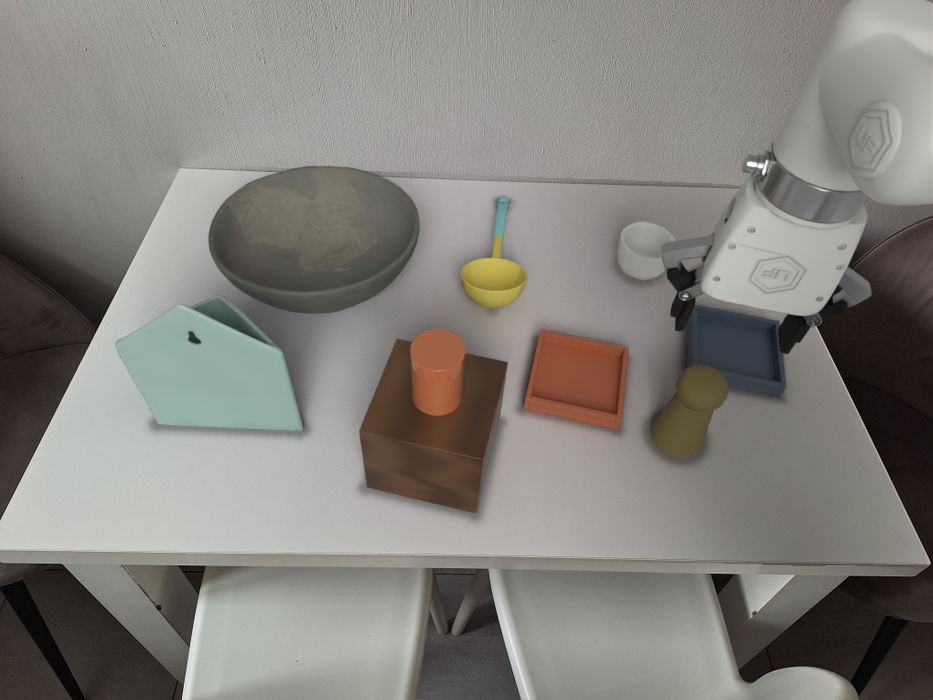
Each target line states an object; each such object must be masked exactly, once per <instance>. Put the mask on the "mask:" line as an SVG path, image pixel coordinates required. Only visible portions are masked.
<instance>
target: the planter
mask: <svg viewBox="0 0 933 700" xmlns="http://www.w3.org/2000/svg"><path fill="white" fill-rule="evenodd" d="M114 347H115V349H116V351H117V353H118V355H119V358H120V359H121V362H122V363H123V364H124V366H125V368H126V370H127V372H128V374H129V375H130V377H131V379H132V380H133V383H134V384H135V386H136V388H137V390H138V391H139V392H140V395H141V396H142V398H143V400H144V402H145V404H146V405H147V407H148V408H149V411H150V412H151V414H152V417H153V418H154V420H155V421H156V423H157V424H159V425H161V426H162V425H165V426H182V427H183V426H185V427H204V428H205V427H206V428H223V429H225V428H227V429H243V430H244V429H245V430H246V429H249V430H268V431H288V432H289V431H291V432H302V431H304V424H303V421H302V417H301V413H300V410H299V404H298V402H297V398H296V394H295V389H294V386H293V383H292V379H291V374H290V372H289V367H288V364H287V360H286V357H285V354H284V350H283V349H282V348H281V347H280V345H278V344H277V343H276V342H275V341H274V340H272V339H271V337H269V336H268V335H267V334H266V333H265V332H264V331H263V330H262V329H261V328H260V327H259V326H258V325H257V324H255V323H254V322H253V320H252V319H250V318H249V317H248V315H246V314H245V313H244V312H243V311H242V310H241V309H240V308H239V307H238V306H237V305H235V304H234V303H233V302H232V301H230V300H229V299H228V298H226V297H225V296H224V295H222V294H217V295H214V296H212V297H210V298H208V299H205V300H203V301H200V302H198V303H196V304H193V305H191V306H189V305H187V304H184V303H177V304H176V305H174V306H172V307H171V308H169V309H168V310H167V311H165V312H164V313H163V314H161V315H159V316H157V317H156V318H154V319H153V320H151V321H149V322H147V323H146V324H144V325H142V326H141V327H139V328H138V329H136V330H134V331H133V332H131V333H129V334H128V335H126V336H123V337H121V338H119V339H117V340H116V341H115V343H114Z"/></svg>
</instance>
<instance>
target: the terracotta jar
mask: <svg viewBox="0 0 933 700" xmlns="http://www.w3.org/2000/svg"><path fill="white" fill-rule="evenodd" d="M411 342H412V344H411V347H410V360H411V392H412V400H413V403H414V404H415V406H416V407H417V408H418V409H419V410H420V411H422V412H424V413H426V414H429V415H434V416H440V415H445V414H448V413H451V412H452V411H454V410H455V409H456V408H457V407H458V406H459V405H460V403H461V400H462V394H463V380H464V366H465V353H466V345H465V342H464V340H463V339H462V338H461V336H459V335H458V334H457V333H455V332H453V331H451V330H448V329H445V328H431V329H427V330H423V331H422V332H420V333H418V334H417V335H416V336H415V337H414V339H413V340H412V341H411Z"/></svg>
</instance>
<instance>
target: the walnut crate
mask: <svg viewBox="0 0 933 700" xmlns="http://www.w3.org/2000/svg"><path fill="white" fill-rule="evenodd" d="M411 344H412V341H410V340H405V339H401V338H396V340H395V341H394V344H393V347H392V349H391V352H390V354H389V356H388V359H387V361H386V363H385V366H384V368H383V372H382V373H381V376H380V379H379V381H378V383H377V386H376V388H375V391H374V393H373V395H372V398H371V401H370V403H369V405H368V407H367V411H366V412H365V414H364V415H365V416H364V418H363V420H362V423H361V425H360V427H359V430H358V434H359V440H360V447H361V455H362V462H363V469H364V477H365V483H366V487H367V489H372V490H377V491H380V492H383V493H384V492H385V493H389V494H393V495H397V496H400V497H401V496H402V497H404V498H410V499H414V500H418V501H422V502H426V503H431V504H434V505H439V506H443V507H447V508H452V509H455V510H460V511H463V512H468V513H472V514H477V513H478V510H479V506H480V502H481V501H480V500H481V497H482V493H483V489H484V485H485V480H486V478H487V473H488V468H489V465H490V461H491V456H492V452H493V448H494V444H495V440H496V435H497V433H498V428H499V424H500V418H501V412H502V405H503V398H504V393H505V384H506V378H507V374H508V373H507V372H508V366H509V362H508V361H504V360H501V359H496V358H491V357H486V356H481V355H476V354H471V353H468V352H465V366H464V380H463V394H462V400H461V403H460V405H459V406H458V407H457V408H456V409H455V410H454V411H452V412H451V413H448V414H445V415H440V416H434V415H429V414H426V413H424V412H422V411H420V410H419V409H418V408H417V407H416V406H415V404H414V403H413V400H412V392H411V360H410V347H411Z"/></svg>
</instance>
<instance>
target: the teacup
mask: <svg viewBox="0 0 933 700" xmlns="http://www.w3.org/2000/svg"><path fill="white" fill-rule="evenodd" d="M674 241H676V239H675V237H674V236H673V234H672V233H671V232H670V231H669V230H668V229H666V228H665V227H663V226H661V225H659V224H658V223H654V222H650V221H643V220H641V219H640V220H637V221H636V222H631V223H630V224H627V225H626V226H625V227H623V229H622V231H621V232H620V235H619V238H618V242H617V248H616V260H617V263H618V266H619V268H620V269H621V271H622V272H623V273H624V274H626V276H629V278H633V279H635V280H640V281H647V280H653V279H656V278H657V277H659V276H661V275H662V274H663V273H664V272H666V270H665V267H664V264H663V260H662V246H663V244H665V243H669V242H674Z"/></svg>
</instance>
